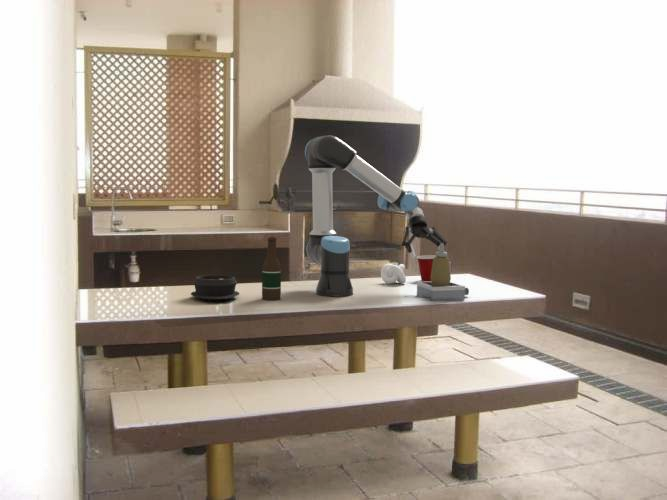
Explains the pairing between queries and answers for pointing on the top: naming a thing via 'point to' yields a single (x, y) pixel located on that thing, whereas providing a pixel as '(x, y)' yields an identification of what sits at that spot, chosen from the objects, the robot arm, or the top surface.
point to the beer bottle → (271, 273)
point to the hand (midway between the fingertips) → (429, 258)
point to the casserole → (215, 287)
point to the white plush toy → (393, 273)
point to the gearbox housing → (441, 291)
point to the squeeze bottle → (441, 268)
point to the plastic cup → (425, 266)
